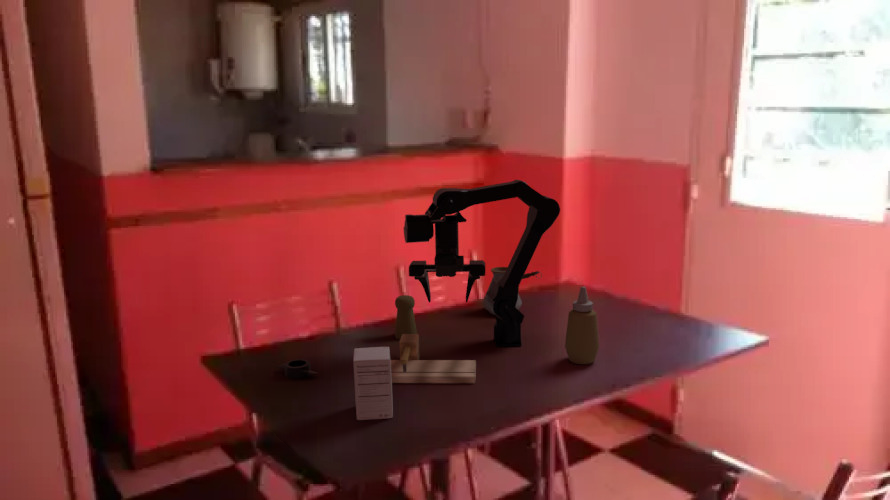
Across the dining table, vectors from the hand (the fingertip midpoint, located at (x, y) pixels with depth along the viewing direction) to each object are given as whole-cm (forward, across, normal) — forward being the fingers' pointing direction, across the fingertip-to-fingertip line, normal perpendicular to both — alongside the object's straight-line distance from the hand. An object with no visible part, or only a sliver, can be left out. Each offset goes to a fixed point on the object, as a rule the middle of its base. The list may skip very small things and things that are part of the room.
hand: (448, 301), depth 180 cm
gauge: (+12, -9, -14) cm, 21 cm away
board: (+12, -4, -18) cm, 22 cm away
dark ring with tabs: (+12, -34, -18) cm, 40 cm away
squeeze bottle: (+12, +32, -9) cm, 35 cm away
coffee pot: (+12, +17, +27) cm, 34 cm away
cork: (+12, -12, +9) cm, 19 cm away
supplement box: (+12, -13, -38) cm, 42 cm away
